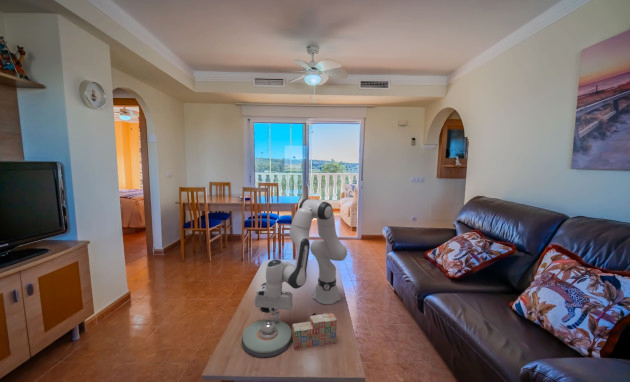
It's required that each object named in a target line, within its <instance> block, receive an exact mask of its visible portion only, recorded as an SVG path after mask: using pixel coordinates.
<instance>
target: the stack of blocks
mask: <svg viewBox="0 0 630 382" xmlns="http://www.w3.org/2000/svg"><path fill="white" fill-rule="evenodd" d="M337 320H338V319H337V318H336V316H335V314H334V313H332V312H331V313H322V314H316V315H314V316H311V315H310V316H309V321H304V322H303V321H302V322H297V323H292V325H291V326H292V328H291V332H292V346H293V349H294V350H296V349H305V348H309V347H316V346H320V345H321V346H322V345H329V344H337V343H336V342H337V322H338V321H337Z"/></svg>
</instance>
